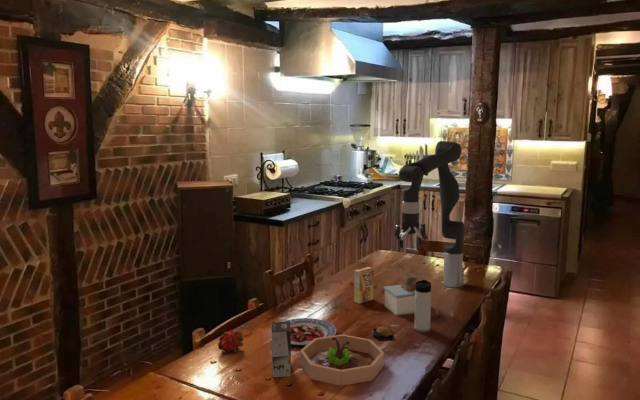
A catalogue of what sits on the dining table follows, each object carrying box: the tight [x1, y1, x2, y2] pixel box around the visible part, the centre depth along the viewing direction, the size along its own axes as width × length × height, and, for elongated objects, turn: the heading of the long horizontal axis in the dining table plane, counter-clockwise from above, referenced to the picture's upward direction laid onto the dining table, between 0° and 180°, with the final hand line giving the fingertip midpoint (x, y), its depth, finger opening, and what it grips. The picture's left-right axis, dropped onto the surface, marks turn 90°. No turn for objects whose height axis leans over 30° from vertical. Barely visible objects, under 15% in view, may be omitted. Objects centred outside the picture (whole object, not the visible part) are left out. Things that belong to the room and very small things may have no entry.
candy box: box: [353, 266, 374, 304], centre depth 249 cm, size 9×4×15 cm, turn 129°
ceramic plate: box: [270, 317, 337, 346], centre depth 212 cm, size 26×26×3 cm
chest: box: [384, 289, 415, 316], centre depth 239 cm, size 16×12×8 cm
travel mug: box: [413, 279, 432, 333], centre depth 215 cm, size 6×7×20 cm
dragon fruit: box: [217, 329, 244, 354], centre depth 198 cm, size 8×8×12 cm
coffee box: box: [271, 320, 292, 378], centre depth 181 cm, size 9×6×16 cm
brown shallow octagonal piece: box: [300, 333, 385, 387], centre depth 186 cm, size 27×27×5 cm
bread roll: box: [371, 326, 395, 342], centre depth 211 cm, size 11×8×4 cm
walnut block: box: [400, 273, 418, 291], centre depth 238 cm, size 5×5×6 cm
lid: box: [382, 284, 415, 297], centre depth 239 cm, size 17×13×1 cm
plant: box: [310, 337, 370, 370], centre depth 184 cm, size 20×20×11 cm
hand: (409, 247), depth 237 cm, fingers open, 8 cm apart
